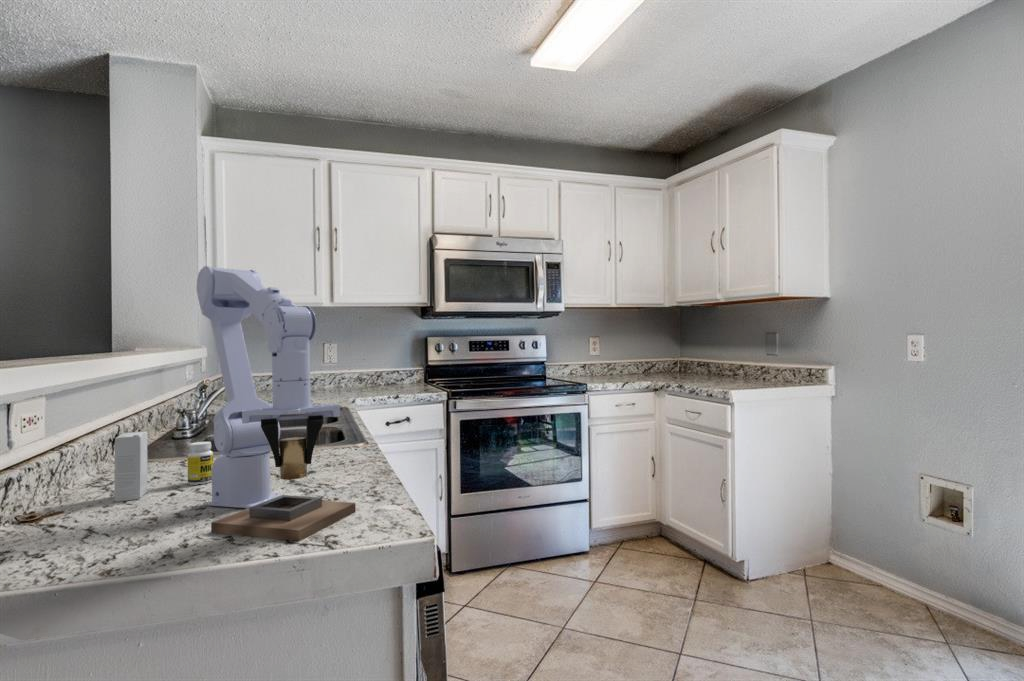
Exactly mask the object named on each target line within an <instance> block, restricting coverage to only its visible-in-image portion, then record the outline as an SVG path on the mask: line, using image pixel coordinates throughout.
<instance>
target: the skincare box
mask: <svg viewBox="0 0 1024 681" xmlns="http://www.w3.org/2000/svg"><path fill="white" fill-rule="evenodd" d="M147 492H148V431H138V432H125V433H122V434H121V435H119V436H117V437H115V440H114V502H127V501H128V502H129V501H135V500H140V499H141V498H142V497H143V496H144V495H145V494H146V493H147Z"/></svg>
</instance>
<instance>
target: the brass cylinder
mask: <svg viewBox="0 0 1024 681" xmlns="http://www.w3.org/2000/svg"><path fill="white" fill-rule="evenodd" d="M306 447H307V437H303V436H301V437H299V436H297V437H296V436H295V437H287V438H282V439H279V453H280V467H279V469H280V470H279V473H280V474H279V475H280V479H281V480H290V481H291V480H299V479H302V478H306V477H308V464H307V459H306V457H307V449H306Z"/></svg>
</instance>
